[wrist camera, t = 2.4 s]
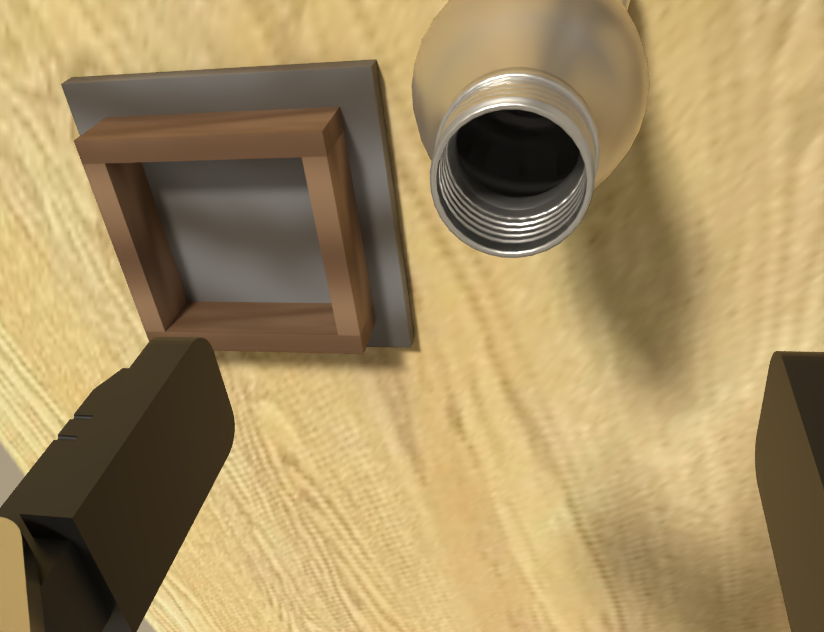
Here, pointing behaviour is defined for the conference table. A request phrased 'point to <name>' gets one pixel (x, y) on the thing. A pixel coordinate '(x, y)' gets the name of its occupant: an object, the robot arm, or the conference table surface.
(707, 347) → the conference table surface
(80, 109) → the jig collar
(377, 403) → the conference table surface
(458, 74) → the plastic bottle
